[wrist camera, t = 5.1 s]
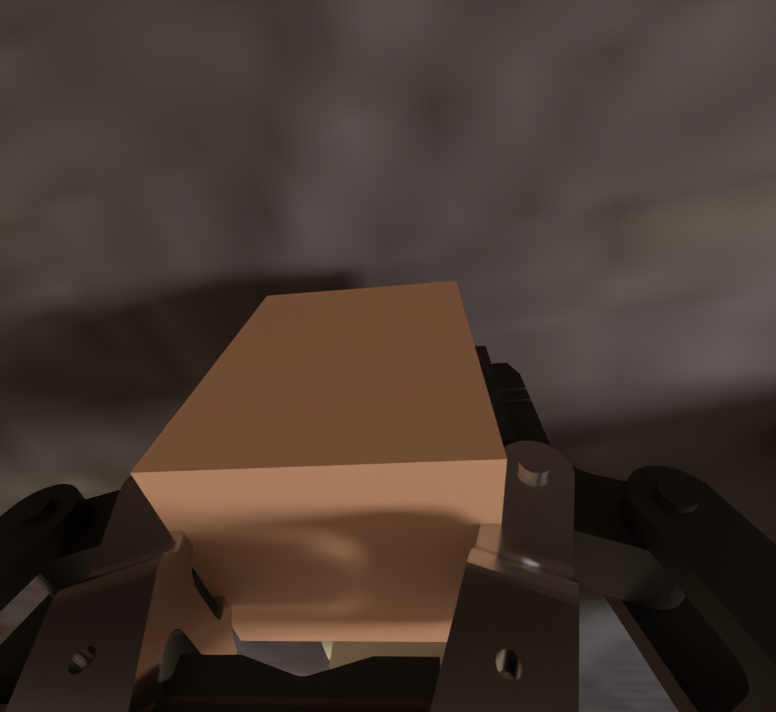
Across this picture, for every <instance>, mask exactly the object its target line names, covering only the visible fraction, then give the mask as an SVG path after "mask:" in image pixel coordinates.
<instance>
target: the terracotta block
mask: <svg viewBox="0 0 776 712" xmlns="http://www.w3.org/2000/svg"><path fill="white" fill-rule="evenodd" d="M506 466H507V457H506V453H505V450H504V446H503V443H502V439H501V436H500V432H499V429H498V426H497V422H496V419H495V415H494V412H493V408H492V405H491V401H490V398H489V394H488V391H487V387H486V384H485V380H484V377H483V373H482V370H481V366H480V363H479V359H478V356H477V352H476V349H475V345H474V342H473V338H472V335H471V331H470V328H469V324H468V321H467V317H466V314H465V310H464V307H463V303H462V300H461V296H460V293H459V289H458V286H457V282H456V281H449V282H436V283H423V284H411V285H398V286H385V287H372V288H360V289H347V290H334V291H321V292H309V293H296V294H283V295H270V296H267V297H266V298H265V299H264V300H263V302H262V303H261V304H260V306H259V307H258V308H257V309H256V311H255V312H254V313H253V315H252V316H251V317H250V319H249V320H248V321H247V322H246V324H245V325H244V326H243V328H242V329H241V330H240V331H239V333H238V334H237V335H236V337H235V338H234V339H233V341H232V342H231V343H230V344H229V346H228V347H227V348H226V350H225V351H224V352H223V353H222V355H221V356H220V357H219V359H218V360H217V361H216V362H215V364H214V365H213V366H212V368H211V369H210V370H209V372H208V373H207V374H206V375H205V377H204V378H203V379H202V381H201V382H200V383H199V384H198V386H197V387H196V388H195V390H194V391H193V392H192V394H191V395H190V396H189V397H188V399H187V400H186V401H185V403H184V404H183V405H182V406H181V408H180V409H179V410H178V412H177V413H176V414H175V416H174V417H173V418H172V419H171V421H170V422H169V423H168V425H167V426H166V427H165V428H164V430H163V431H162V432H161V434H160V435H159V436H158V437H157V439H156V440H155V441H154V443H153V444H152V445H151V447H150V448H149V449H148V450H147V452H146V453H145V454H144V456H143V457H142V458H141V459H140V461H139V462H138V463H137V465H136V466H135V467H134V469H133V470H132V471H131V472H130V473H131V475H132V476H133V478H134V480H135V481H136V483H137V484H138V486H139V487H140V489H141V490H142V492H143V493H144V495H145V496H146V498H147V499H148V501H149V502H150V504H151V505H152V507H153V508H154V510H155V511H156V513H157V514H158V516H159V517H160V519H161V520H162V522H163V523H164V525H165V526H166V528H167V529H168V531H174V530H183V532H184V533H185V535H186V536H187V538H188V539H189V541H190V543H191V544H192V546H193V547H194V548H193V555H192V567H193V569H194V570H195V572H196V573H197V575H198V576H199V578H200V579H201V581H202V582H203V584H204V585H205V587H206V588H207V590H208V591H209V593H210V594H211V596H224V597H225V598H226V600H227V602H228V603H229V605H230V606H231V608H232V628H233V629H234V631H235V632H236V634H237V635H238V637H239V638H240V640H241V641H378V642H447V640H448V636H449V632H450V628H451V624H452V620H453V616H454V612H455V608H456V604H457V599H458V595H459V591H460V587H461V583H462V579H463V575H464V571H465V567H466V563H467V560H468V556H469V553H470V550H471V548H472V547H475V545H476V541H477V537H478V533H479V529H480V525H481V524H501V522H502V511H503V500H504V489H505V477H506Z"/></svg>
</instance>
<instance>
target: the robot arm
mask: <svg viewBox="0 0 776 712" xmlns="http://www.w3.org/2000/svg"><path fill="white" fill-rule="evenodd" d="M475 349H476V352H477V356H478V359H479V363H480V366H481V370H482V373H483V377H484V380H485V384H486V387H487V391H488V394H489V398H490V401H491V405H492V408H493V412H494V415H495V419H496V422H497V426H498V429H499V432H500V436H501V439H502V443H503V446H504V450H505V453H506V457H507V466H506V477H505V489H504V500H503V511H502V522H501V524H481V525H480V529H479V533H478V537H477V541H476V545H475V547H472V548H471V550H470V553H469V556H468V560H467V563H466V567H465V571H464V575H463V579H462V583H461V587H460V591H459V595H458V599H457V604H456V608H455V612H454V616H453V620H452V624H451V628H450V632H449V636H448V640H447V644H446V648H445V652H444V656H443V660H442V664H441V668H440V657H416V656H372V657H369V658H365V659H362V660H359V661H355V662H352V663H349V664H346V665H342V666H339V667H336V668H333V669H329V670H326V671H323V672H320V673H316V674H313V675H310V676H305V677H304V676H296V675H293V674H291V673H288V672H285V671H283V670H280V669H277V668H275V667H272V666H270V665H267V664H264V663H262V662H259V661H256V660H254V659H251V658H249V657H246V656H243V655H237V650H236V646H235V643H234V639H233V634H232V608H231V606H230V605H229V603H228V602H227V600H226V598H225V597H224V596H211V594H210V593H209V591H208V590H207V588H206V587H205V585H204V584H203V582H202V581H201V579H200V578H199V576H198V575H197V573H196V572H195V570H194V569H193V567H192V555H193V548H194V547H193V546H192V544H191V543H190V541H189V539H188V538H187V536H186V535H185V533H184V532H183V530H174V531H168V529H167V528H166V526H165V525H164V523H163V522H162V520H161V519H160V517H159V516H158V514H157V513H156V511H155V510H154V508H153V507H152V505H151V504H150V502H149V501H148V499H147V498H146V496H145V495H144V493H143V492H142V490H141V489H140V487H139V486H138V484H137V483H136V481H135V480H134V478H133V476H132V475H130V476H129V477H128V479H127V480H126V481H125V482H124V484H123V485H122V487H121V489H120V490H117V491H114V492H110V493H107V494H103V495H100V496H96V497H93V498H89V499H86V500H85V498H84V497H83V496H82V494H81V493H80V492H79V491H78V489H77V488H76V487H74V486H72V485H69V484H60V485H54V486H51V487H47V488H45V489H42V490H39V491H37V492H35V493H33V494H31V495H29V496H28V497H26V498H24V499H23V500H21V501H20V502H18V503H17V504H15V505H14V506H13V507H12V508H10V509H9V510H8V511H7V512H5V513H4V514H3V515H2V516H0V611H1V610H2V609H3V608H4V607H5V606H6V605H7V604H8V603H9V602H10V601H11V600H12V599H13V598H14V597H16V596H17V595H18V594H19V593H20V592H21V591H22V590H23V589H24V588H25V587H26V586H27V585H28V584H29V583H30V582H31V581H32V580H34V581H35V582H36V583H37V584H38V585H39V586H40V587H42V588H43V589H44V590H45V591H46V592H47V593H48V594H49V595H48V596H47V597H46V598H45V599H44V600H43V601H42V602H41V603H40V604H39V605H38V606H37V607H36V608H35V609H34V610H33V611H32V613H31V614H30V615H29V616H28V617H27V618H26V619H25V620H24V621H23V622H22V623H21V624H20V625H19V626H18V627H17V628H16V629H15V630H14V631H13V632H12V633H11V634H10V636H9V637H8V638H7V639H6V640H5V641H4V642H3V643H2V644H1V645H0V712H579V587H578V586H580V587H583V588H586V589H590V590H593V591H596V592H599V593H602V594H603V595H604V596H605V598H606V600H607V601H608V603H609V604H610V606H611V607H612V609H613V610H614V612H615V614H616V615H617V617H618V618H619V620H620V621H621V623H622V624H623V626H624V627H625V629H626V631H627V632H628V634H629V635H630V637H631V638H632V640H633V641H634V643H635V645H636V646H637V648H638V649H639V651H640V652H641V654H642V655H643V657H644V658H645V660H646V662H647V663H648V665H649V666H650V668H651V669H652V671H653V672H654V674H655V676H656V677H657V679H658V680H659V682H660V683H661V685H662V686H663V688H664V689H665V691H666V693H667V694H668V696H669V697H670V699H671V700H672V702H673V703H674V705H675V707H676V708H677V710H678V711H679V712H776V545H775V544H774V543H773V542H772V541H771V540H769V539H768V538H767V537H766V536H765V535H764V534H763V533H761V532H760V531H759V530H758V529H757V528H756V527H755V526H754V525H752V524H751V523H750V522H749V521H748V520H747V519H746V518H744V517H743V516H742V515H741V514H740V513H739V512H738V511H737V510H735V509H734V508H733V507H732V506H731V505H730V504H729V503H727V502H726V501H725V500H724V499H723V498H722V497H721V496H720V495H718V494H717V493H716V492H715V491H714V490H713V489H712V488H710V487H709V486H708V485H706V484H705V483H704V482H702V481H701V480H699V479H697V478H696V477H694V476H692V475H690V474H687V473H685V472H683V471H680V470H677V469H673V468H669V467H663V466H647V467H642V468H639V469H637V470H635V471H634V472H633V473H632V474H631V475H630V476H629V478H628V480H627V482H626V481H621V480H616V479H612V478H607V477H602V476H598V475H594V474H590V473H586V472H584V471H581V470H579V469H577V468H575V467H573V466H572V464H571V463H570V461H569V460H568V459H567V457H566V456H565V455H564V454H562V453H561V452H560V451H558V450H557V449H555V448H553V447H551V446H550V444H549V441H548V439H547V437H546V434H545V432H544V430H543V427H542V425H541V423H540V420H539V418H538V415H537V413H536V411H535V408H534V406H533V404H532V401H530V397H529V394H528V392H527V390H526V389H525V385H524V383H523V380H522V378H521V376H520V374H519V373H518V372H517V371H516V370H515V369H513V368H512V367H511V366H510V365H509V364H507V363H496V364H491V361H490V358H489V355H488V352H487V349H486V347H485V346H475Z"/></svg>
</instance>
